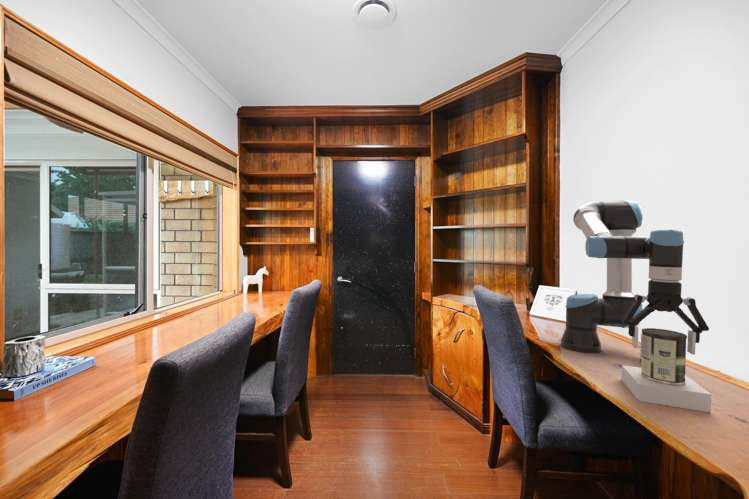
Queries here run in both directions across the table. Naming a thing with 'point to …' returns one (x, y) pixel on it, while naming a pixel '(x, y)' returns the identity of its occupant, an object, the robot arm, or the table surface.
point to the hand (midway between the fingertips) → (662, 350)
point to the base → (666, 391)
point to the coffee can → (663, 356)
